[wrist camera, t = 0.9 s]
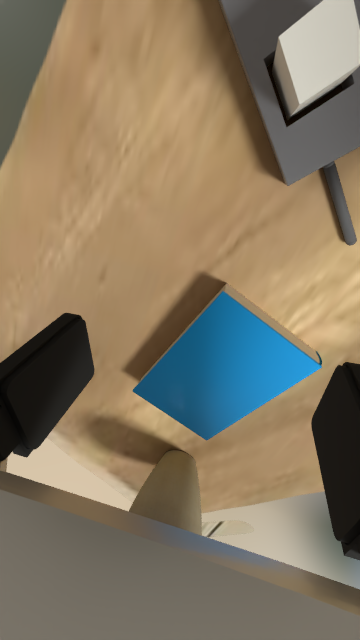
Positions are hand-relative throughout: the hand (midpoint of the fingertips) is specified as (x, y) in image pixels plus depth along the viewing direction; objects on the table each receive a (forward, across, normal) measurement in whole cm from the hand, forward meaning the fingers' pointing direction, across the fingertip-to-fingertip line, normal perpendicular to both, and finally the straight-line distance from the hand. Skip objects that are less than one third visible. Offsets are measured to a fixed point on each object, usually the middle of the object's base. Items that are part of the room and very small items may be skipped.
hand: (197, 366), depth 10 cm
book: (+26, 0, +22) cm, 34 cm away
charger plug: (+25, -4, -13) cm, 28 cm away
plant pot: (+25, +5, +51) cm, 57 cm away
